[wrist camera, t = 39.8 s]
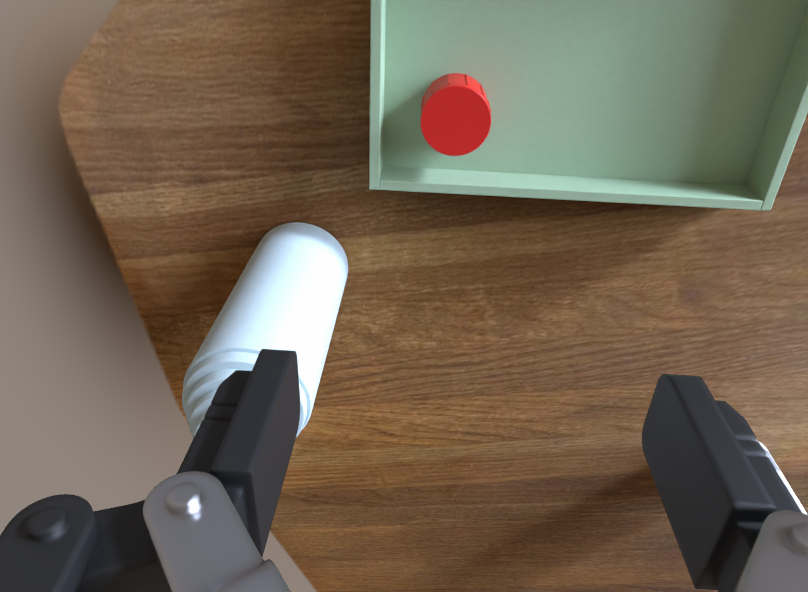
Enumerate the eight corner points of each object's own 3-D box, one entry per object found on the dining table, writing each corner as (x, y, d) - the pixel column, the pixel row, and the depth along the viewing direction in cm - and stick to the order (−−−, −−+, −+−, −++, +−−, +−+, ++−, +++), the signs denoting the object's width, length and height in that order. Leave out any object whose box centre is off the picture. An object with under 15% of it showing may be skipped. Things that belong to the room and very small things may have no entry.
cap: (420, 137, 37) (418, 154, 34) (423, 71, 35) (422, 84, 32) (484, 140, 37) (487, 158, 34) (490, 74, 35) (495, 87, 32)
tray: (373, 171, 38) (368, 189, 36) (377, -172, 29) (371, -180, 27) (748, 191, 38) (770, 211, 35) (868, -152, 29) (910, -160, 26)
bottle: (268, 307, 44) (159, 549, 27) (245, 226, 41) (105, 444, 24) (355, 300, 43) (300, 544, 26) (339, 217, 40) (264, 435, 23)
